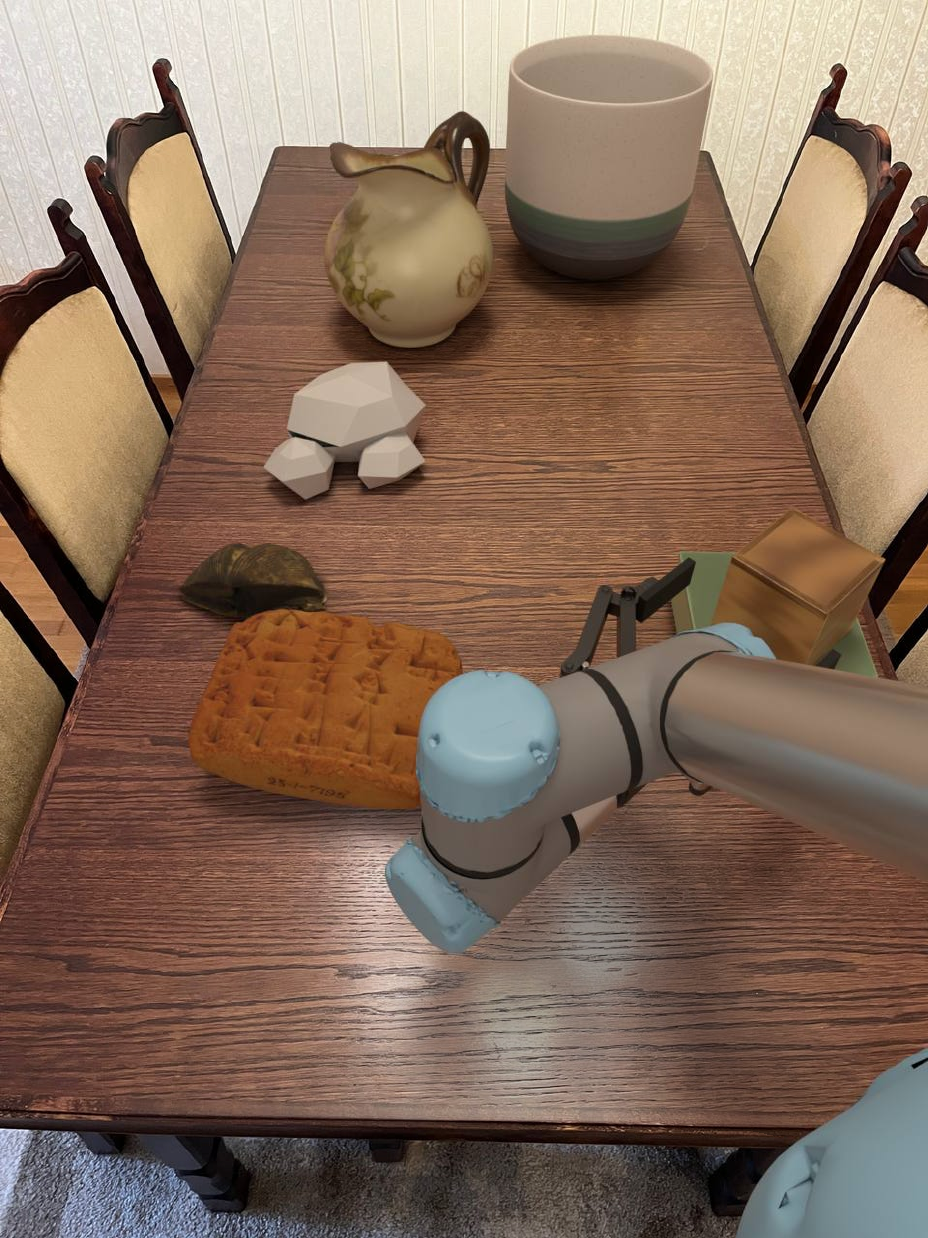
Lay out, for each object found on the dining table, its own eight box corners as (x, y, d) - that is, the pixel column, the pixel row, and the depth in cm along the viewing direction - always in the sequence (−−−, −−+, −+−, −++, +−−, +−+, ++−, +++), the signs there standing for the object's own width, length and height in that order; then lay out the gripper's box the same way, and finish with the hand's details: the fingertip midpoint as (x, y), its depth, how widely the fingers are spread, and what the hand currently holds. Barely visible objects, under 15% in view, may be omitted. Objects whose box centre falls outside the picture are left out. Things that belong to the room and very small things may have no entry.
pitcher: (325, 369, 120) (300, 174, 101) (340, 280, 135) (320, 97, 117) (494, 369, 120) (500, 174, 101) (489, 280, 136) (493, 97, 117)
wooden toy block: (850, 630, 82) (885, 559, 75) (795, 684, 78) (827, 614, 71) (766, 578, 86) (792, 506, 79) (709, 626, 82) (731, 555, 75)
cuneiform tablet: (186, 795, 77) (163, 742, 71) (254, 644, 88) (239, 587, 82) (439, 839, 74) (437, 788, 68) (477, 678, 86) (478, 622, 80)
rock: (449, 482, 104) (448, 412, 97) (278, 521, 100) (263, 451, 93) (403, 395, 116) (399, 327, 109) (248, 426, 111) (233, 358, 104)
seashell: (165, 615, 90) (155, 555, 86) (208, 570, 97) (200, 512, 93) (319, 646, 87) (316, 586, 83) (352, 597, 94) (350, 539, 90)
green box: (856, 717, 83) (878, 677, 78) (689, 714, 83) (702, 673, 78) (817, 596, 93) (835, 554, 88) (668, 593, 93) (679, 551, 88)
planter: (651, 218, 149) (681, 30, 129) (699, 302, 131) (742, 99, 111) (490, 227, 147) (495, 37, 126) (516, 314, 129) (527, 109, 109)
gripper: (459, 696, 72) (631, 567, 82) (716, 917, 60) (881, 735, 70) (459, 635, 66) (643, 504, 76) (742, 865, 54) (918, 675, 64)
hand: (757, 614), depth 73 cm, fingers open, 13 cm apart
